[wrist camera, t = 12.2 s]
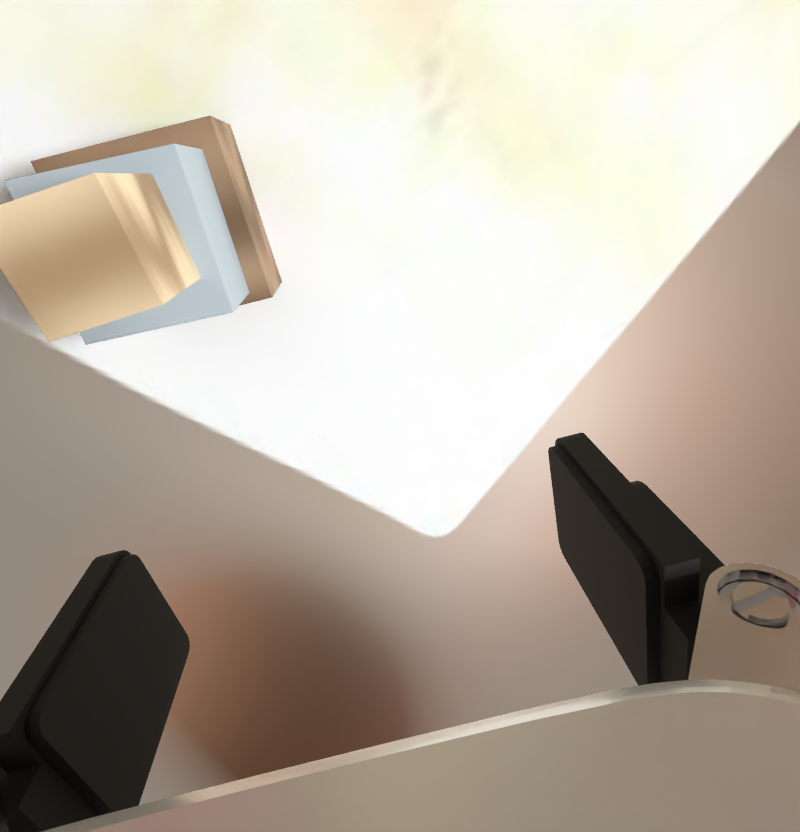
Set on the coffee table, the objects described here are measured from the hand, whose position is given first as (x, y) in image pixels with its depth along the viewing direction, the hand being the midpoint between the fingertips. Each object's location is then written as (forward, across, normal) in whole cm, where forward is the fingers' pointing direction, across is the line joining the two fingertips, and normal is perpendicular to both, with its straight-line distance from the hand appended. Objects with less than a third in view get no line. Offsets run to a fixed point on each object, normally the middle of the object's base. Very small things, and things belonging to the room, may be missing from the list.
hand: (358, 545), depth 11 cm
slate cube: (+23, +10, -6) cm, 26 cm away
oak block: (+18, +9, -7) cm, 21 cm away
